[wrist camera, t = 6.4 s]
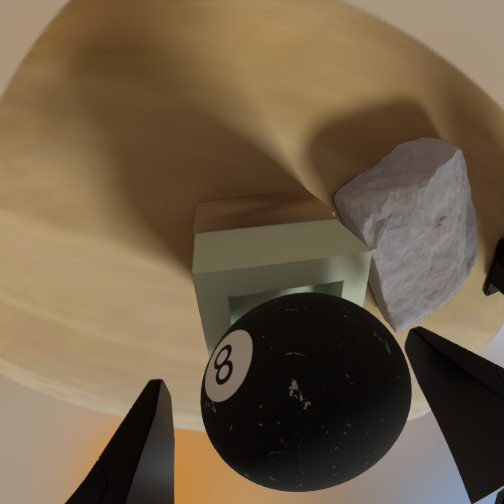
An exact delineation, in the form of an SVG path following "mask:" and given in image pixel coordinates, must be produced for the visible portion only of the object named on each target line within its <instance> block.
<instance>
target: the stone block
mask: <svg viewBox="0 0 504 504" xmlns="http://www.w3.org/2000/svg"><path fill="white" fill-rule="evenodd" d="M334 204H335V207H336V209H337V211H338V214H339V216H340V218H341V220H342V222H343V224H344V226H345V227H346V228H347V229H348V230H349V231H350V232H351V233H353V234H354V235H355V236H356V237H357V238H358V239H359V240H360V241H361V242H363V243H364V244H365V245H366V246H367V247H368V248H369V249H370V250H371V251H372V255H371V262H370V269H369V275H368V282H369V284H370V287H371V289H372V292H373V295H374V297H375V300H376V303H377V306H378V308H379V310H380V312H381V314H382V316H383V317H384V319H385V321H386V322H387V323H389V325H390V326H391V327H392V329H393V330H394V331H395V332H401V331H402V330H404V329H406V328H408V327H410V326H412V325H414V324H415V323H417V322H419V321H421V320H423V319H424V318H425V317H426V316H428V315H430V314H431V313H433V312H435V311H436V310H438V309H439V308H440V307H441V306H442V305H444V304H445V303H447V302H448V301H449V300H450V299H451V298H452V297H454V296H455V295H456V293H457V292H458V290H459V289H460V288H461V286H462V284H463V283H464V282H465V280H466V279H467V278H468V277H469V274H470V271H471V268H472V267H473V266H474V263H475V259H476V256H477V253H478V246H477V243H476V236H477V219H476V213H475V209H474V205H473V202H472V201H471V188H470V184H469V179H468V177H467V168H466V164H465V160H464V157H463V154H462V151H461V149H460V148H458V147H457V146H455V145H453V144H451V143H449V142H447V141H444V140H440V139H437V138H427V137H421V138H418V139H416V140H412V141H409V142H404V143H402V144H399V145H397V147H396V148H395V149H393V150H392V151H391V152H390V153H389V154H388V155H387V156H384V157H383V158H382V160H381V161H380V162H379V164H377V165H376V166H374V167H372V168H371V169H368V170H365V171H364V172H362V173H360V174H359V175H358V176H356V177H355V178H354V179H352V180H351V181H350V182H349V183H347V184H346V185H345V186H343V187H341V188H340V189H339V190H338V191H337V192H336V193H335V194H334Z"/></svg>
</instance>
